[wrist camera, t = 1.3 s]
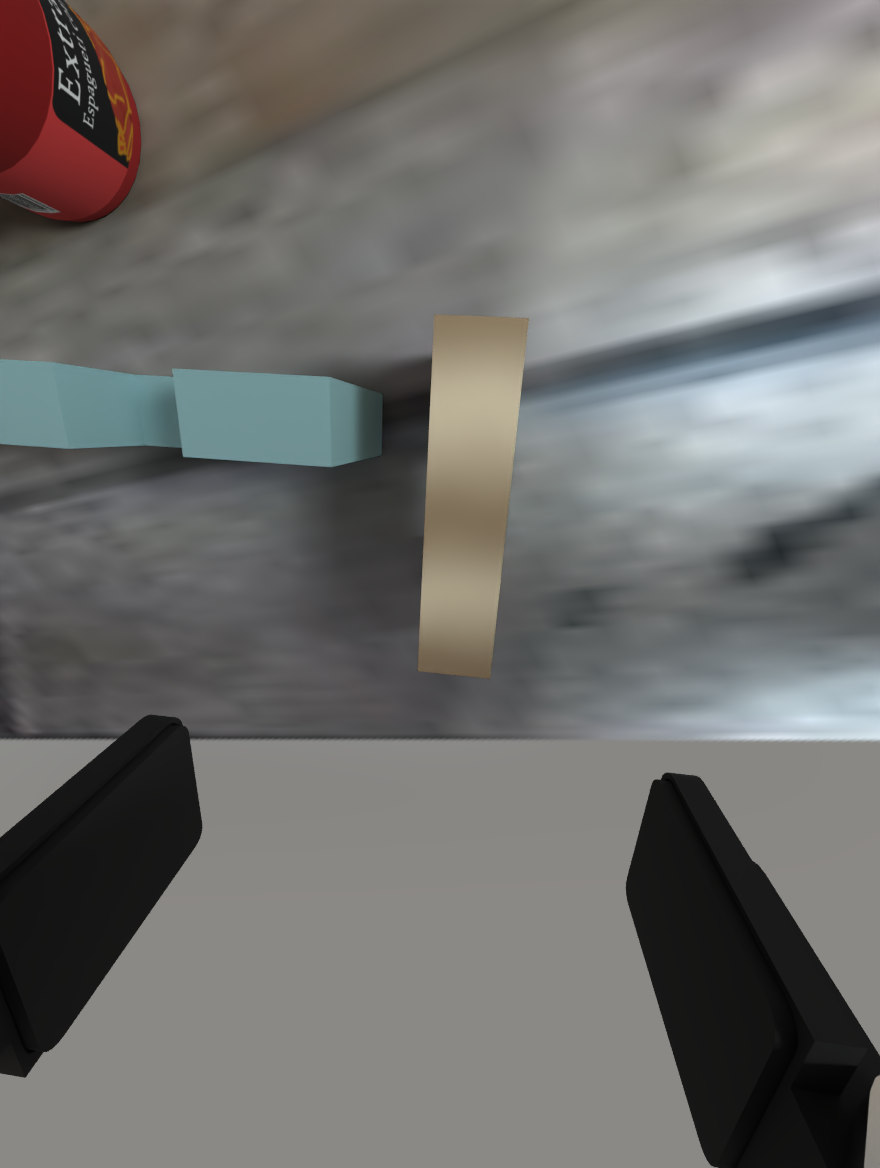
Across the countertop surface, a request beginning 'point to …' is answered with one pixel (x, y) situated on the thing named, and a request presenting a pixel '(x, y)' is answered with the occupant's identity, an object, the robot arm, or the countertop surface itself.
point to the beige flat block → (468, 487)
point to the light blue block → (191, 413)
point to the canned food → (62, 115)
